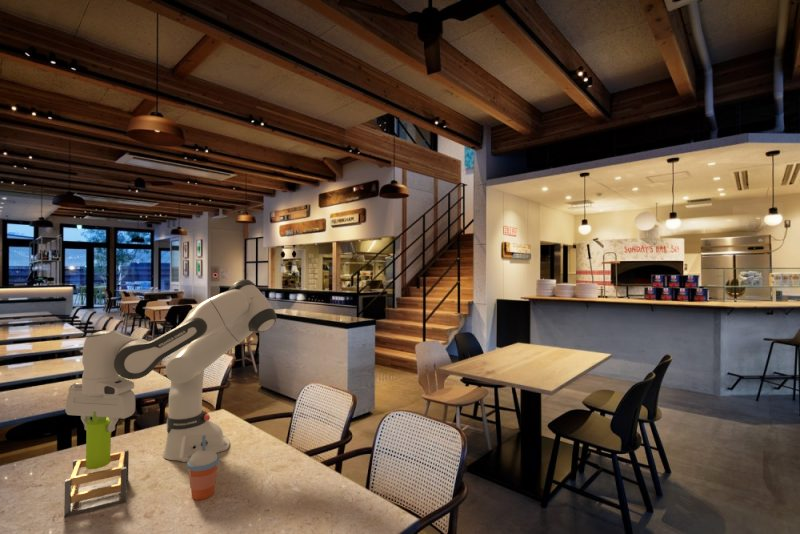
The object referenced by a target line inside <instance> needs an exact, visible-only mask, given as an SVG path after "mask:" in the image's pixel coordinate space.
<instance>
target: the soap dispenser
mask: <svg viewBox="0 0 800 534" xmlns="http://www.w3.org/2000/svg"><path fill="white" fill-rule="evenodd" d="M91 418H92V419H91V420H90V421H88V422H87V430H86V439H85V441H86V443H85V459H86V467H85V468H86V469H87V470H97V469H100V468H103V467H106V466H107V465H109V464H110V463H111V462H110V454H111V448H112V447H111V445H112V444H111V440H112V439H111V438H112V436H111V435H112V432H106V426H108V425H109V424H110V422H111V421H109V418H107V417H97V416H96V412H95V411H94V412H93V416H91Z"/></svg>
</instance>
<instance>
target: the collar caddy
mask: <svg viewBox="0 0 800 534" xmlns="http://www.w3.org/2000/svg"><path fill="white" fill-rule="evenodd" d="M129 452H130V451H129V449H124V450H123V451H120V452H114V453H110V463H111V462H116V461H119V463H118V466H117V467H113V468H108V469H104V470H99V471H93V472H89V473H85V474H80V470H81V468H86V458H83V459H78V458H77V459H73V461H72V473H71V476H70V478H67V479H65V480H64V509H63V510H64V515H63V517H64V518H68V517H71V516H77V515H79V514H83V513H87V512H92V511H95V510H100V509H103V508H107V507H112V506H116V505H119V504H124V503H126V502H127V494H128V493H127V492H128V485H129V466H130V465H129V459H130V456H129V455H130V453H129ZM79 474H80V475H79ZM113 477H118V478H117V479H114V480H113V479H112V480H107V481H104V482H99V483H95V484H94V483H93V484H90V485H85V486H82V487H81V484H82V485H83V484H87V483H91V482H96V481H100V480H104V479H110V478H113Z"/></svg>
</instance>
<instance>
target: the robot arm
mask: <svg viewBox="0 0 800 534" xmlns="http://www.w3.org/2000/svg"><path fill="white" fill-rule="evenodd" d="M277 318H278V317H277V313H276V311H275V310H274V308H273V307H272V305H271V304H270V302H269V300H268V299H267V297H266V296H265V295H264V294H263V293H262V291H260V289H259V288H258V287H257V286H256V284H255V283H254V282H253V281H251V280H250V279H240V280H239V279H238V280H237V281H236V282H234V283H233V284H232V285H231V286H230V287H229V288H228V290H226V291H224V292H221V293H219V294H216V295H213V296H212V297H209V298H207V299H205V300H204V301H201V302H200V303H199V304H197V305H195V306H194V307H193V308H192V309H190V310H189V311H188V313H187V315H186V317H185V318H184V320H183V321H182V322H181V323H179V325H177V326H176V327H175V328H173V329H171V330H169V331H167V332H165V333H164V334H162V335H160V336H158V337H156V338H155V339H153V340H151V341H148V340H147V339H144V338H138V337H132V336H129V335H126V334H123V333H120V332H119V331H117V330H115V329H105V330H101V331H96V332H93V333H91V334H90V335H88V336H87V337H86V338H85V339H84V343H83V347H82V357H81V358H82V366H83V372H82V375H81V376H82V377H81V378H82V379H81V383H80V382H79V383H77V382H76V383H72V384H71V385H70V386H69V387H68V394H67V397H66V401H65V407H64V408H65V413H66V415H68V416H80V420H81V421H82V423H83V426H84V430H85V431H87V422H88V421H90V420H92V419H91V418H92V416H93V412H94V411H95V412H96V416H97V417H107V418H109V421H111V422H110V424H109V425H108V426H106V432H111V433H112V432H113V431H115V430H116V424H117V423H118V421H119V419H127V418H130V417H131V416H133V414H134V413H135V412H136V396H135V394H136V393H134V391H133V389H135V383H134V381H131V380H137V379H142V378H143V377H146V376H147V375H149V374H150V373H151V372H152V371H153V370H154V369H155V367H156V366H157V365H158V364H159V363H160V362H162V360H163V359H165V358H167V357H168V356H170V355H172V356H170V357H169V359H168V360H167V362H166V365H165V374H166V376H167V378H168V380H169V381H170V386H169V391H168V415H167V416H166V417H167V419H166V432H167V436H166V442H165V446H164V450H163V453H162V457H163V458H164V459H166V460H169V461H170V460H171V461H179V462H183V463H187V462H188V461H189V460H190V458H191V457H192V455H193V454H194V453H195V452H196V451H198V450H200V449H202V436H204V435H205V436H206V438H205V448H209V449H212V450H214V451H215V452H216V454H218V453H221V452H225V451H226V450H229V449H228V448H230V440H229V438H228V437H227V436H226V435H224V432H223V430H222V428H221V427H220V425H218V424H217V423H215V422H213V421H211V420H210V419H211V415H210V414H209V413H208V412H207V411H206V410H205V409H203V385H204V375H205V373H204V372H205V370H206V369H208V368H209V366H211V365H212V364H213V363H215V362H216V361H217V360H219V358H221V357H222V356H223V355H225V354H226V353H228V352H229V351H230V350H232V349H233V348H235V347H236V346H238V345H239V344H240V343H241V342H243V341H244V340H246V339H247V338H248V337H249V336H250V335H252V334H253V333H262V332H266V331H268V330H270V329H271V328H272V327H273V326H274V325H275V323H276V322H277V321H276V320H277Z"/></svg>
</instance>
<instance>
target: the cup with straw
mask: <svg viewBox="0 0 800 534" xmlns="http://www.w3.org/2000/svg"><path fill="white" fill-rule="evenodd" d="M205 438H206V436H205V435H204V436H202V449H200V450H198V451H196V452H195V453H194V454H193V455H192V457H191V458H190V460H189V461H188V462H186V468H187V470H189V472H188V477H189V479H188V480H189V487H190V491H191V493H190V494H191V498H192V499H193V500H196V501H200V500H206V499H208V498H210V497H212V496H213V495H214V493H215V487H216V483H217V476H218V475H217V474H218V465H219V464H220V456H219V455H218V453H216V452H215V451H214V450H212V449H209V448H205Z"/></svg>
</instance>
